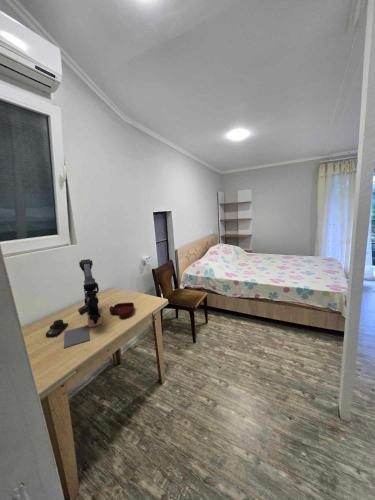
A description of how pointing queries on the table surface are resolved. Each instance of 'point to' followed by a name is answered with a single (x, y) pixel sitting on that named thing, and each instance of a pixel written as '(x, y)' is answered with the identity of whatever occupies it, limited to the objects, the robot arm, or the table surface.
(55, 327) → the film camera
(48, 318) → the table surface
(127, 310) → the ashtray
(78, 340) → the mat
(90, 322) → the tile
